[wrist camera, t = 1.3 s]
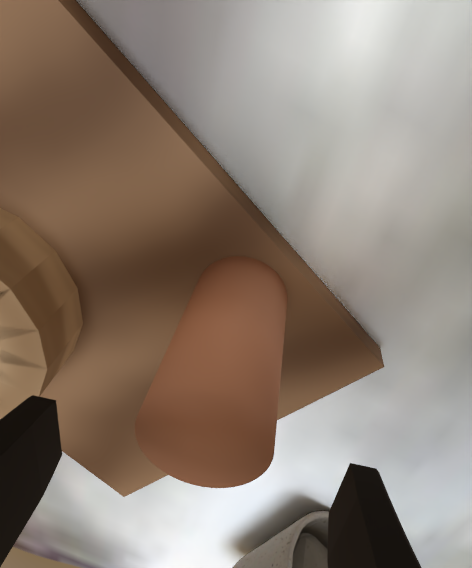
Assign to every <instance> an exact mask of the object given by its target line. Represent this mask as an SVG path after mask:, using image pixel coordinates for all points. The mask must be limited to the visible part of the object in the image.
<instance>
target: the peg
mask: <svg viewBox="0 0 472 568" xmlns="http://www.w3.org/2000/svg"><path fill="white" fill-rule="evenodd" d="M286 311H287V291H286V287H285V285H284V283H283V281H282V279H281V277H280V276H279V275H278V274H277V273H276V272H275V271H274V270H273V269H272V268H271V267H270V266H268V265H267V264H265V263H263V262H261V261H259V260H257V259H253V258H250V257H244V256H232V257H226V258H223V259H220V260H218V261H216V262H214V263H212V264H211V265H209V266H208V267H207V268H206V269H205V270H204V271H203V273H202V274H201V276H200V278H199V280H198V282H197V284H196V287H195V289H194V291H193V293H192V295H191V298H190V300H189V302H188V304H187V306H186V309H185V311H184V313H183V315H182V318H181V320H180V322H179V324H178V326H177V329H176V331H175V333H174V335H173V337H172V340H171V342H170V344H169V346H168V349H167V351H166V353H165V355H164V357H163V360H162V362H161V364H160V366H159V368H158V371H157V373H156V375H155V377H154V380H153V382H152V384H151V386H150V388H149V391H148V393H147V395H146V397H145V400H144V402H143V404H142V406H141V408H140V411H139V413H138V415H137V418H136V421H135V436H136V440H137V442H138V445H139V447H140V448H141V450H142V452H143V453H144V454H145V456H146V457H147V458H148V459H149V460H150V461H151V462H152V463H153V464H154V465H155V466H156V467H158V468H159V469H161V470H162V471H163V472H165V473H167V474H168V475H170V476H172V477H174V478H176V479H178V480H181V481H184V482H186V483H190V484H193V485H197V486H202V487H210V488H228V487H235V486H239V485H243V484H246V483H249V482H251V481H253V480H255V479H256V478H258V477H259V476H261V475H262V474H263V473H264V472H265V471H266V470H267V469H268V467H269V466H270V464H271V462H272V459H273V455H274V446H275V435H276V424H277V413H278V401H279V390H280V379H281V367H282V356H283V345H284V333H285V322H286Z"/></svg>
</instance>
